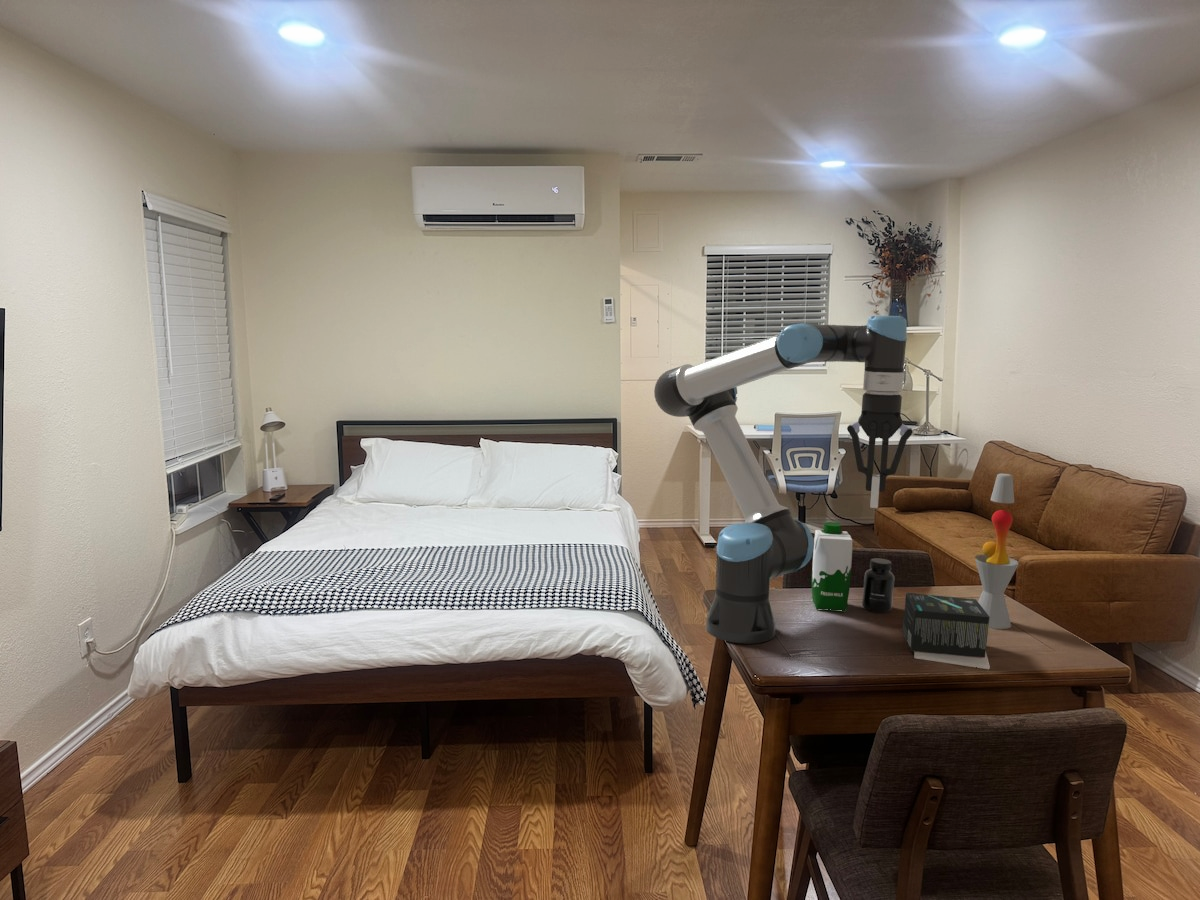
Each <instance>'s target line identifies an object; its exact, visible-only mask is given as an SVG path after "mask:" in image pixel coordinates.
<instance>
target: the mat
mask: <svg viewBox="0 0 1200 900" xmlns="http://www.w3.org/2000/svg"><path fill="white" fill-rule="evenodd" d="M987 654H988V653H987V652H986V653H985V657H972V656H962V655H953V654H943V653H932V652H921V651H913V657H914V658H913V659H915V660H917V659H918V660H924V661H931V662H938V663H943V664H950V665H958V666H962V667H963V666H965V667H970V668H976V667H977V668H978V669H982V670H983V669H984V670H989V669H990V668H991V666H990V663H989V661H990V660H989V658H988V655H987ZM977 668H976V669H977Z"/></svg>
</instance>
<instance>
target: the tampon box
mask: <svg viewBox="0 0 1200 900" xmlns="http://www.w3.org/2000/svg"><path fill="white" fill-rule="evenodd" d="M904 601H905V603H904V613H903V622H902V634H903V636H904V639H905V641H906V643H907V644H908V647H909V650H910V651H911V652H914V651H921V652H932V653H943V654H953V655H962V656H972V657H985V653H986V654H987V652H986V651H987V645H988V644H987V643H988V634H989V628H988V625H989V619H990V616H989V615H988V614H987V613H986V611H985V610H984V609H983V608H982V606H981V605H980V604H979V603H978V600H977V599H975V598H965V597H954V596H946V595H935V594H926V593H925V594H924V593H916V592H906V593H905V600H904Z"/></svg>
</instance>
